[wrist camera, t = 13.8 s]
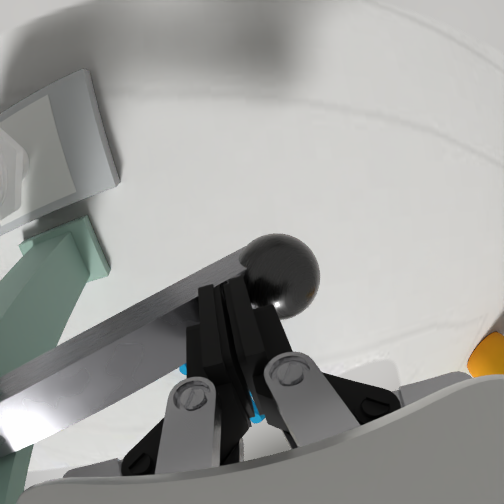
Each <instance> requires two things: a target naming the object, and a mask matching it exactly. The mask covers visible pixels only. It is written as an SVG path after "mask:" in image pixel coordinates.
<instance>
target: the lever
mask: <svg viewBox="0 0 504 504" xmlns="http://www.w3.org/2000/svg"><path fill="white" fill-rule="evenodd" d="M242 275H243V279H244V282H245V285H246V289H247V292H248V295H249V299H250V302H251V305H252V309H255V308H259V307H262V306H266V305H269V304H273V305H274V307H275V309H276V312H277V314H278V317H279V319H280V320H284V319H288V318H292V317H294V316H296V315H298V314H300V313H301V312H303V311H304V310H305V309H306V308H307V307H308V306H309V305H310V304H311V303H312V301H313V300H314V298H315V296H316V294H317V291H318V288H319V283H320V270H319V265H318V262H317V260H316V258H315V255H314V254H313V252H312V251H311V250H310V248H309V247H308V246H307V245H306V244H305V243H303V242H302V241H300V240H299V239H297V238H295V237H292V236H290V235H285V234H268V235H264V236H261V237H259V238H257V239H255V240H253V241H252V242H251V243H249V244H248V245H247V246H245V247H243V248H241V249H240V250H238V251H236V252H234V253H232V254H230V255H228V256H226V257H224V258H222V259H220V260H219V261H217V262H215V263H213V264H211V265H209V266H207V267H205V268H203V269H201V270H199V271H198V272H196V273H194V274H192V275H190V276H188V277H186V278H184V279H182V280H180V281H179V282H177V283H175V284H173V285H171V286H169V287H167V288H165V289H163V290H162V291H160V292H158V293H156V294H154V295H152V296H150V297H148V298H146V299H145V300H143V301H141V302H139V303H137V304H135V305H133V306H131V307H129V308H128V309H126V310H124V311H122V312H120V313H118V314H116V315H114V316H113V317H111V318H109V319H107V320H105V321H103V322H101V323H99V324H98V325H96V326H94V327H92V328H90V329H88V330H86V331H85V332H83V333H81V334H79V335H77V336H75V337H73V338H72V339H70V340H68V341H66V342H64V343H62V344H60V345H59V346H57V347H55V348H53V349H51V350H49V351H47V352H46V353H44V354H42V355H40V356H38V357H36V358H35V359H33V360H31V361H29V362H27V363H25V364H23V365H22V366H20V367H18V368H16V369H14V370H12V371H11V372H9V373H7V374H5V375H3V376H1V377H0V458H1V457H4V456H6V455H8V454H11V453H13V452H15V451H17V450H20V449H22V448H24V447H26V446H29V445H31V444H33V443H35V442H37V441H40V440H42V439H44V438H46V437H48V436H50V435H52V434H54V433H57V432H59V431H61V430H63V429H65V428H67V427H69V426H71V425H73V424H75V423H77V422H79V421H81V420H83V419H85V418H87V417H89V416H91V415H93V414H95V413H97V412H99V411H100V410H102V409H104V408H106V407H108V406H110V405H112V404H114V403H116V402H117V401H119V400H121V399H123V398H125V397H127V396H129V395H130V394H132V393H134V392H136V391H138V390H140V389H141V388H143V387H145V386H147V385H149V384H150V383H152V382H154V381H156V380H157V379H159V378H161V377H163V376H164V375H166V374H168V373H170V372H171V371H173V370H175V369H177V368H178V367H180V366H182V365H183V364H185V363H186V328H187V327H189V326H193V325H196V324H200V319H199V300H198V288H199V287H202V286H206V285H210V284H213V285H214V287H217V286H220V289H221V292H222V295H223V298H224V301H225V304H226V307H227V301H226V296H225V291H224V284H228V283H229V281H228V279H231V278H235V277H238V276H242ZM227 310H228V307H227ZM228 313H229V312H228Z"/></svg>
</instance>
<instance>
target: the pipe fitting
mask: <svg viewBox="0 0 504 504" xmlns="http://www.w3.org/2000/svg"><path fill="white" fill-rule="evenodd" d="M28 170H29V158H28V155H27V152H26V151H25V149H24V148H23V147H21V146H20V145H19V144H18V143H17V142H16V141H15V140H14V139H12V138H11V137H10V136H9V135H8V134H7V133H6V132H5V131H3V130H2V129H1V128H0V221H1V220H2V219H4V218H6V217H7V216H9V215H10V214H12V213H13V212H15V211H16V210H18V209H19V208H20V206H21V192H22V181H23V180H24V179H25V177H26V176H27V173H28Z"/></svg>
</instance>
